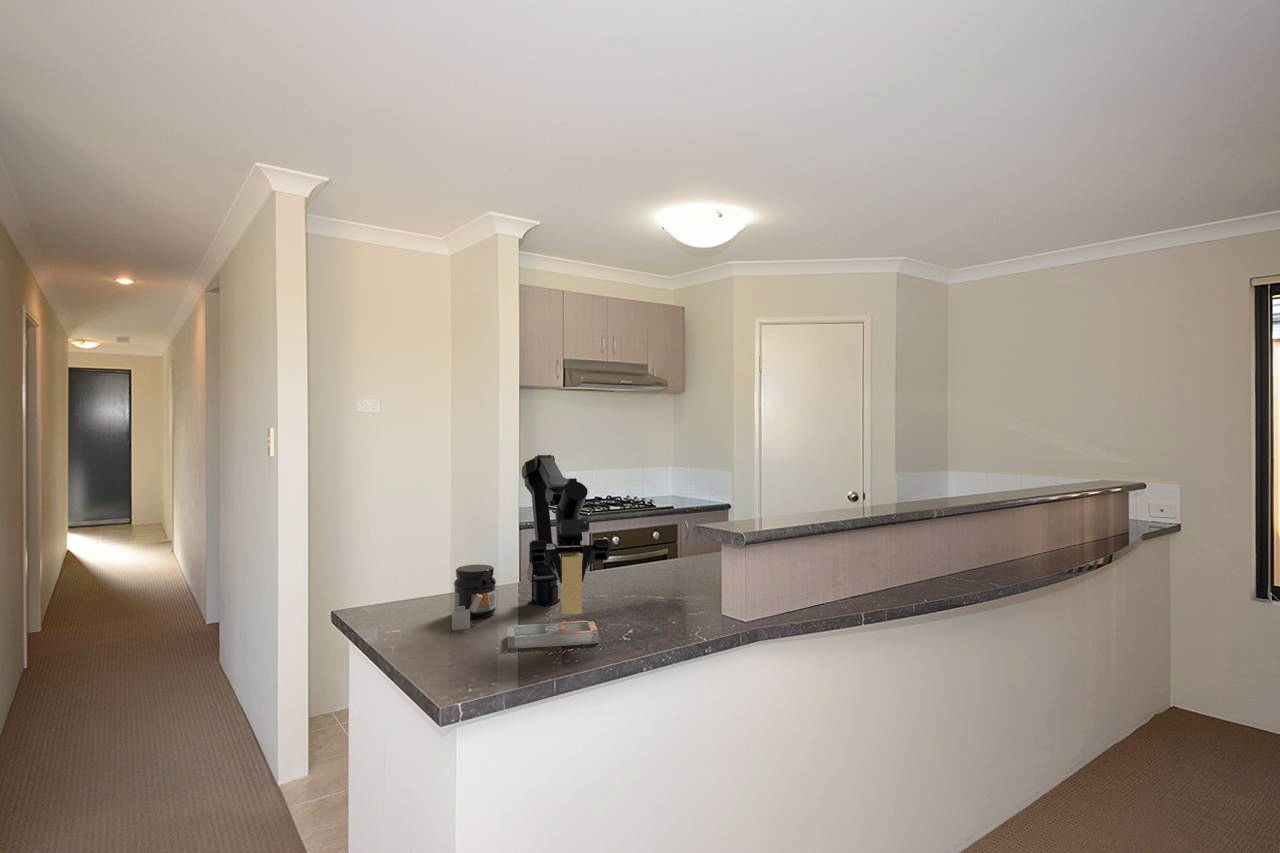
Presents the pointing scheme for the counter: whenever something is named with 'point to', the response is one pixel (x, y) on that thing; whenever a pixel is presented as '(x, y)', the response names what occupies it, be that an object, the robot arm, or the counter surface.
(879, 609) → the counter surface
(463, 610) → the lighter
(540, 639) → the divided tray
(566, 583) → the tan block
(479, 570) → the supplement container
